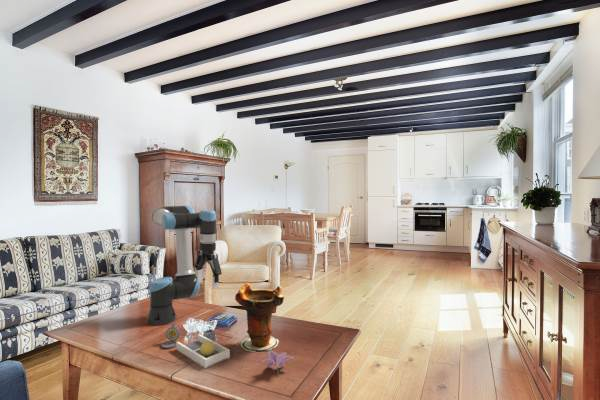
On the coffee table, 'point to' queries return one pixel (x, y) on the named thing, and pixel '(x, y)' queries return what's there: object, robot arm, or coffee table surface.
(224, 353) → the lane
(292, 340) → the coffee table surface
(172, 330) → the pocket watch
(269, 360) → the lily
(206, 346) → the ball
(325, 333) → the coffee table surface
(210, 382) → the coffee table surface
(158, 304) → the robot arm
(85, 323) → the coffee table surface
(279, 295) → the decorative vase
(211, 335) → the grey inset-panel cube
